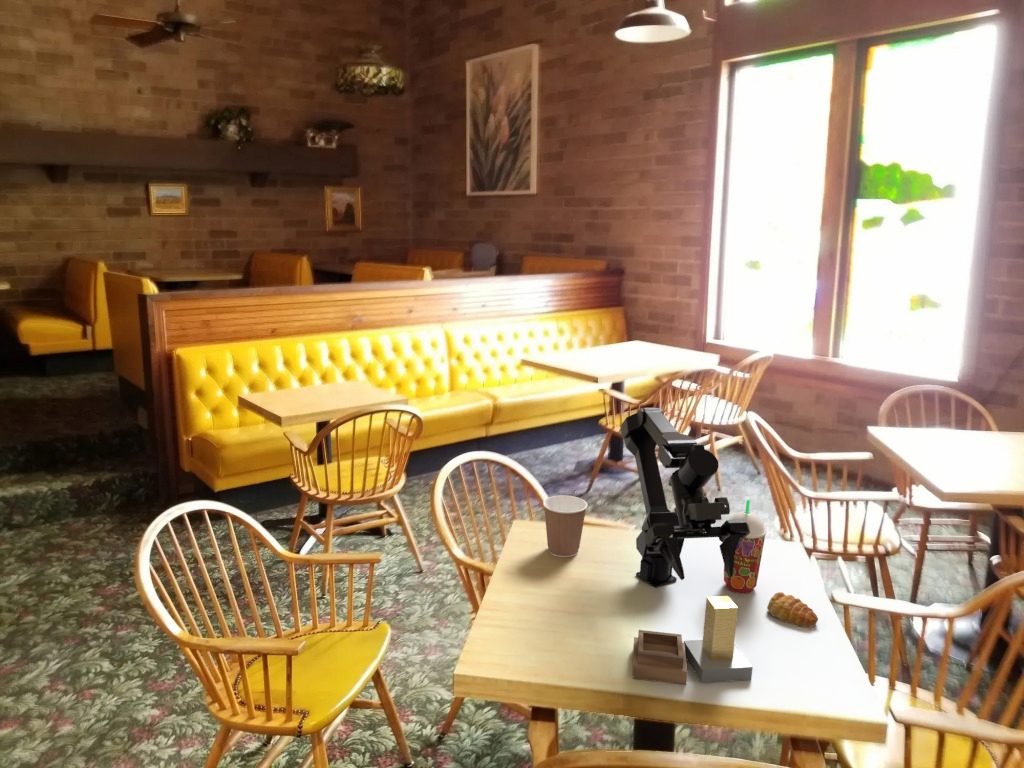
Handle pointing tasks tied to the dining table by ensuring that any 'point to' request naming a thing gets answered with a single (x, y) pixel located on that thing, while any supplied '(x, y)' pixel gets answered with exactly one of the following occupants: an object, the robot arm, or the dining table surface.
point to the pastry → (792, 610)
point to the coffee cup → (564, 524)
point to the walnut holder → (659, 657)
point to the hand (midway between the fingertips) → (706, 577)
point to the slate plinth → (717, 664)
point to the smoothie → (747, 554)
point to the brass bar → (719, 628)
